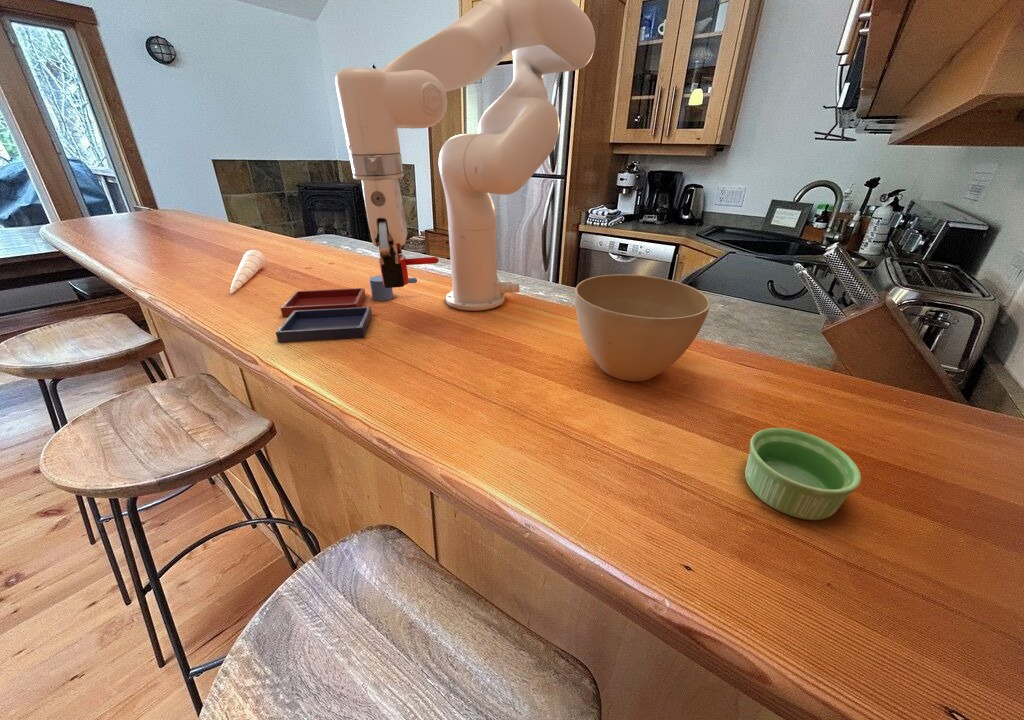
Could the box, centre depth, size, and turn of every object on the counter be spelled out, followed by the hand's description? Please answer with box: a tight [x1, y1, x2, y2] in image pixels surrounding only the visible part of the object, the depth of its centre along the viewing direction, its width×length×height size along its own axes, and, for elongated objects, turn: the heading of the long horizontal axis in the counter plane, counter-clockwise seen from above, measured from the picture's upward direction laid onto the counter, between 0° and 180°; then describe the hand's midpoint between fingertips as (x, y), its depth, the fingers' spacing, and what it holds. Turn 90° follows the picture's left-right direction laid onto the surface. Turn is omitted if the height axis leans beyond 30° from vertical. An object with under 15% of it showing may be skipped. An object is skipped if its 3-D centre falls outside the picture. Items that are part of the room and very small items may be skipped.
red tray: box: [280, 287, 367, 318], centre depth 86 cm, size 14×10×2 cm
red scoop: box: [378, 254, 440, 286], centre depth 71 cm, size 10×4×4 cm, turn 99°
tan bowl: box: [574, 273, 711, 382], centre depth 60 cm, size 18×18×12 cm
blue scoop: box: [369, 274, 418, 302], centre depth 90 cm, size 10×4×4 cm, turn 99°
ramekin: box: [744, 427, 862, 521], centre depth 40 cm, size 9×9×4 cm
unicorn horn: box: [229, 249, 266, 294], centre depth 100 cm, size 5×24×5 cm, turn 12°
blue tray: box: [275, 306, 373, 343], centre depth 75 cm, size 14×10×2 cm
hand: (395, 280), depth 72 cm, fingers closed on red scoop, 4 cm apart
